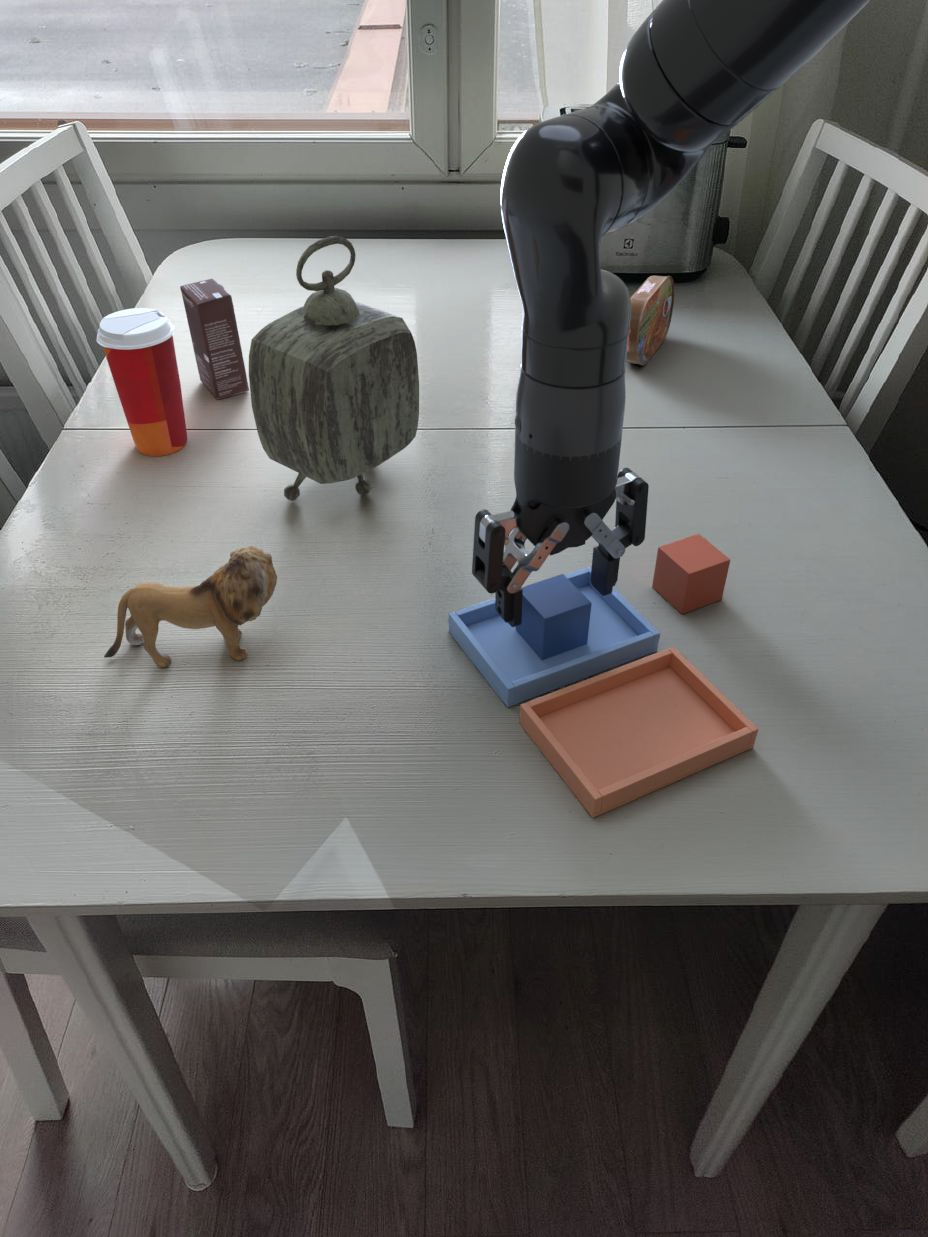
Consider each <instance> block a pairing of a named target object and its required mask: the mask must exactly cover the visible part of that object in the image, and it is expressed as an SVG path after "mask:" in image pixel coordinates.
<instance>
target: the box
mask: <svg viewBox="0 0 928 1237" xmlns="http://www.w3.org/2000/svg"><path fill="white" fill-rule="evenodd" d="M179 288H180V292H181V296H182V301H183V306H184V311H185V315H186V321H187V325H188V329H189V334H190V338H191V343H192V349H193V354H194V357H195V362H196V367H197V371H198V376H199V380H200V381H201V383H202V384H203V385H204V386H205V387H206V388H207V389H208V391H210V392H211V394H212V395H213V396H214V397H215V399H216V400H222V399H225V398H229V397H234V396H236V395H237V396H238V395H241V394H245V393H246V392H250V386H249V382H248V377H247V371H246V366H245V361H244V356H243V355H244V354H243V350H242V345H241V339H240V334H239V330H238V324H237V318H236V313H235V307H234V303H233V297H232V295H231V294H230V293H229V292H228V291H227V290H226V289H225V287H224V286H223V285H222V284H220V283H218V282H217V281H216V280H215V279H214V278H209V279H204V280H199V281H195V282H191V283H186V284H183V285H180V286H179Z"/></svg>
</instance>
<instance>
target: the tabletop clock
mask: <svg viewBox="0 0 928 1237" xmlns="http://www.w3.org/2000/svg"><path fill="white" fill-rule="evenodd" d="M332 245H343V246H344V247H345V248H347V250H348V251H349V254H350V258H349V262H348V264H347V265H346V266H345V268H343V269H342V270H341V271H340V272H338V274H336V275H335V276H334V272H333V271H331V270H328V269H325V270H323V271H322V272H321V281H319V282H314V283H313V282H307V281H305V280H304V279H303V276H302V273H303V268H304V266H305V264H306V262H307V261H308V259H309V258H310V257H311V256H312V255H313V254H314V253H316V252H317V251H319V250H321V249H323V248H326V247H329V246H332ZM299 257H300V258H299V259H298V261H297V265H296V274H295V276H296V280H297V282H298V284H299V286H300V287H302V288H303V289H305V290H307V291H313V292H312V293H311V294H310V295H309V296H308V297H307V298H306V300H305V302H304V304H303V306H300V307H298V308H296V309H294V310H293V311H290V312H288V313H287V314H284V315H283V316H281V317H279V318H277V319H275V320H273V321H271V322H269V323H268V324H266V325H264V327H263V328H261V329H260V330H259V331H258V332H257V333H256V334H255V335H254V336H253V338H251V341H250V349H249V352H248V380H249V382H248V383H249V393H250V402H251V409H252V410H251V411H252V414H253V418H254V422H255V426H256V432H257V435H258V439H259V441H260V445H261V446H262V449H263V451H264V453H265V454H266V455H267V457H268V458H269V459H270V460H271V461H274V462H275V463H277V464H279V465H281V466H284V467H285V468H288V469H290V470H292V471H293V472H295V473H297V476H296V478H295V480H294V482H293V483H291V484H288V485H286V486H285V487H284V489H283V496H284V498H286V499H287V500H288V501H297V499H298V498H299V497H300V495H301V490H300V488H299V487H300V486H301V485H302V483H303V482H304V481H305V479H306V478H308V479H310V480H312V481H314V482H316V483H319V484H320V485H325V484H327V485H328V484H334V483H339V482H344V481H345V482H346V481H349V480H352V479H355V478H356V477H357V481H356V482H355V485H354V488H355V491H356V493H357V494H358V495H360V496H366V495H368V494H370V493H371V491H372V485H371V482H370V481H369V480H367V479H364V474H365V473H366V472H368V471H370V470H373V469H374V468H377V467H378V466H380V465H382V464H384V463H385V462H386V461H388V460H389V459H391V458H392V457H394V456H396V455H397V454H399V453H400V452H402V451H403V450H404V449H406V448H407V447H408V446H409V445H410V444H411V443H412V441H414V440H415V438H416V436H417V431H418V428H419V418H420V376H419V375H420V374H419V365H418V364H419V362H418V352H417V346H416V342H415V338H414V336H413V333H412V331H411V329H410V328H409V327H408V325H407V323H406V321H405V320H404V318H403V317H400V316H397V315H396V314H393V313H389V312H387V311H383V310H381V309H378V308H376V307H372V306H369V305H366V304H363V303H360V302H358V301H355V299H354V298H353V296H352V295H351V293H350V292H348V291H347V290H345V289H341V288H339V287H335V286H337V285H338V284H339V283H341V282H342V281H344V280H345V279H346V277H348V276H349V275H350V274H351V272H352V270H353V268H354V266H355V263H356V250H355V248H354V246H353V243H352V242H351V241H350V240H349V239H347V238H346V237H343V236H340V235H332V236H331V235H330V236H327V237H323V238H321V239H318V240H316V241H314V243H311V244H310V245H309V246H308V247H307V248H306V249H305V250H304V251H303V252H302V253H301V255H300V256H299Z"/></svg>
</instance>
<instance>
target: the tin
mask: <svg viewBox="0 0 928 1237" xmlns="http://www.w3.org/2000/svg"><path fill="white" fill-rule="evenodd" d="M630 301H631V316H630V327H629V336H628V346H627V355H626V364H627V363H628V364H634V365H640V366H643V367H644V366H645V365H647V364H648V362H649V361H650V359H651V358H652V357H653V355H654V354H655V353H656V352H657V350H658V349H659V348H660V347H661V345H662V344H663V343H664V341H665V340H666V337H667V335H668V332H669V330H670V326H671V322H672V318H673V310H674V304H675V282H674V279H673V277H672V276H671V275H667V276H666V275H665V276H663V275H650V276H649V277H647V279H646V280H645V281H644V282H643V283H642V284H641V285H640V286H639V288H638V289H637V290H636V291H635V292H634V293H633V294H632V296H630Z"/></svg>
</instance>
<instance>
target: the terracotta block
mask: <svg viewBox="0 0 928 1237" xmlns="http://www.w3.org/2000/svg"><path fill="white" fill-rule="evenodd" d="M730 564H731V558H729V557H728V556H727V555H726V554H725V553H724V552H722V551H721V550H719V549H718V548H717V547H715V545H713V544H712V543H711V542H709V541H708V540H707V539H706V538H705V537H703V535H701V534H700V533H695V534H693V535H690V536H687V537H684V538H681V539H678V540H675V541H672V542H669V543H666V544H663V545H660V546H658V547H657V552H656V559H655V565H654V572H653V578H652V584H651V587H652V588H653V589H654V590H655V591H656V592H657V593H658V594H659V595H661V597H663V598H664V600H666V601H667V602H668V603H669V604H670V605H672V606H673V608H675V609H676V610H677V611H678V612H679V613H680V614H681V615H684V614H686V613H689V612H691V611H694V610H697V609H700V608H703V607H705V606H708V605H711V604H713V603H716V602H719V601H721V600H723V595H724V592H725V586H726V582H727V577H728V573H729V569H730Z"/></svg>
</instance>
